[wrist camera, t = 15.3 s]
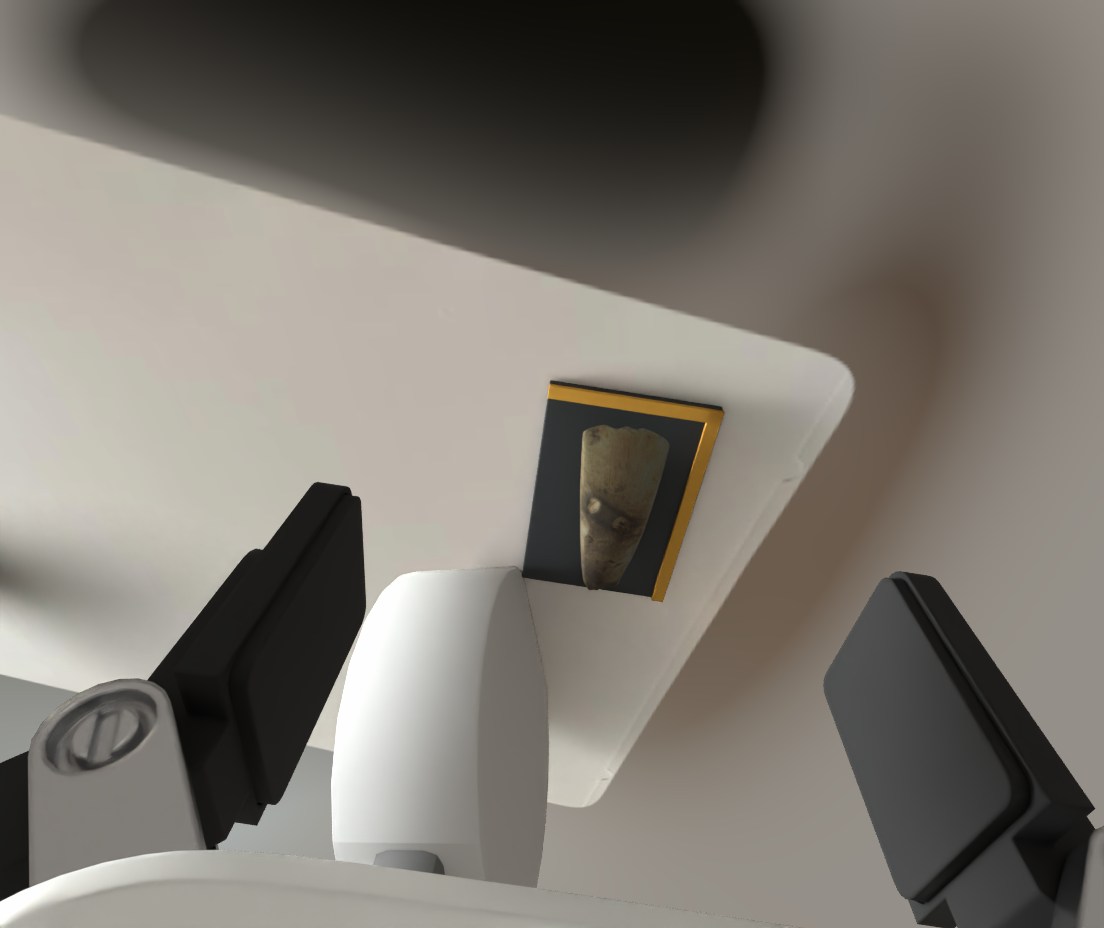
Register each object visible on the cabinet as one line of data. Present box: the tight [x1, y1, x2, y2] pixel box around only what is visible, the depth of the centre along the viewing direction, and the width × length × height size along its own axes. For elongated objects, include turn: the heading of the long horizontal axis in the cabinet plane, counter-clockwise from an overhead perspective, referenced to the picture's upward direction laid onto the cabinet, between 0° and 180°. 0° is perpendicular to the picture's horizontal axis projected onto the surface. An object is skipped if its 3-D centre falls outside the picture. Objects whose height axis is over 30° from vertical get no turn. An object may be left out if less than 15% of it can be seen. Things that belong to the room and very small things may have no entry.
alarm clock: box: [331, 566, 549, 888], centre depth 37 cm, size 21×8×20 cm, turn 8°
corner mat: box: [522, 381, 724, 602], centre depth 38 cm, size 15×10×1 cm, turn 172°
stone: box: [580, 425, 670, 590], centre depth 37 cm, size 13×5×2 cm, turn 178°
